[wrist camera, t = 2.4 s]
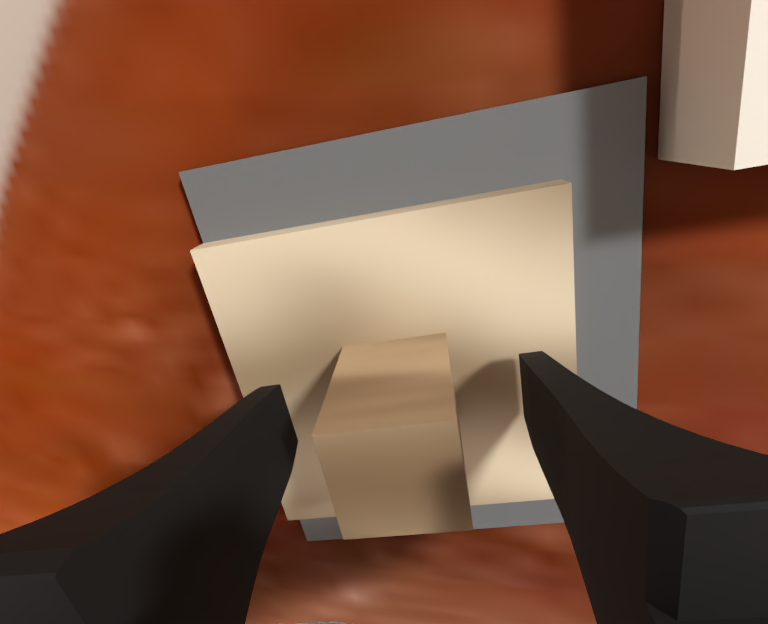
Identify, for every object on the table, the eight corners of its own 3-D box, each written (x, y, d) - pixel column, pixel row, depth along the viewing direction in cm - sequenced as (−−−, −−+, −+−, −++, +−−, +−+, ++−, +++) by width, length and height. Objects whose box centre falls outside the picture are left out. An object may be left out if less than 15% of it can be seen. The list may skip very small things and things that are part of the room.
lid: (572, 478, 15) (635, 625, 11) (293, 502, 16) (247, 641, 12) (562, 179, 11) (652, 213, 7) (203, 243, 13) (88, 305, 8)
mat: (628, 508, 16) (633, 517, 16) (309, 532, 18) (307, 541, 17) (639, 77, 11) (647, 75, 10) (185, 170, 12) (178, 172, 12)
